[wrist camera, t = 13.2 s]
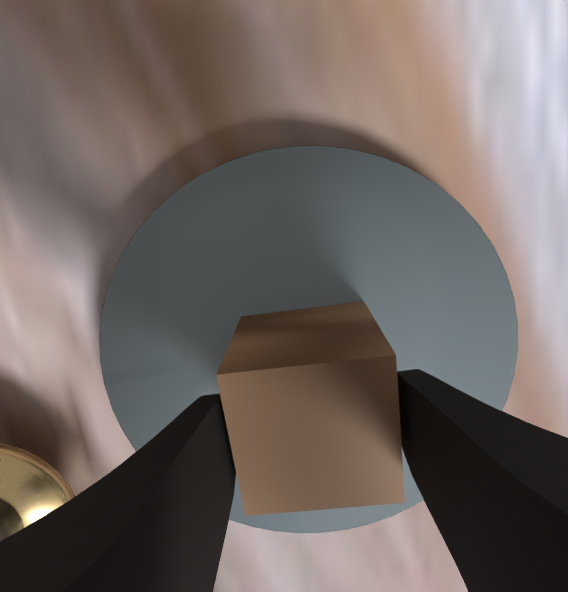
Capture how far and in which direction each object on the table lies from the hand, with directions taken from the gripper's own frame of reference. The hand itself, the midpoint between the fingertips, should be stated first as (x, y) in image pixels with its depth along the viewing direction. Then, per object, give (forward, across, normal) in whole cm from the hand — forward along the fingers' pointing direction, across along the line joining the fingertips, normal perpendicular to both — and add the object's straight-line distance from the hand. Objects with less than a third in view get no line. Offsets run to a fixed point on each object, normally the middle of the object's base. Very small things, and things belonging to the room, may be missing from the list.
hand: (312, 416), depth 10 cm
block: (+3, 0, 0) cm, 3 cm away
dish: (+4, 0, 0) cm, 4 cm away
